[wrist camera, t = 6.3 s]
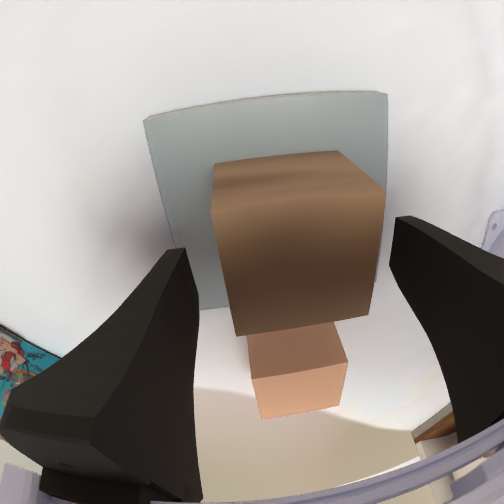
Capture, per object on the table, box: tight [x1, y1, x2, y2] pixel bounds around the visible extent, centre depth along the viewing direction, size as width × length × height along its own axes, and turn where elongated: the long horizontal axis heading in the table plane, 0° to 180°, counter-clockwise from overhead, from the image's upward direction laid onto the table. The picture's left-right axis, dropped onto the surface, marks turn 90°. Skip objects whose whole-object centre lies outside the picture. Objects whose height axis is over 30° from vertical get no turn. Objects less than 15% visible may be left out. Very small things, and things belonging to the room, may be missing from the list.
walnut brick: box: [211, 150, 386, 336], centre depth 11 cm, size 5×5×4 cm
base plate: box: [143, 91, 388, 310], centre depth 13 cm, size 9×9×1 cm
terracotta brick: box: [247, 322, 348, 419], centre depth 17 cm, size 5×5×4 cm
